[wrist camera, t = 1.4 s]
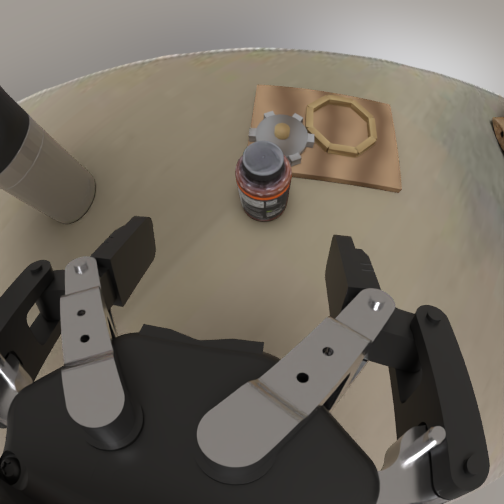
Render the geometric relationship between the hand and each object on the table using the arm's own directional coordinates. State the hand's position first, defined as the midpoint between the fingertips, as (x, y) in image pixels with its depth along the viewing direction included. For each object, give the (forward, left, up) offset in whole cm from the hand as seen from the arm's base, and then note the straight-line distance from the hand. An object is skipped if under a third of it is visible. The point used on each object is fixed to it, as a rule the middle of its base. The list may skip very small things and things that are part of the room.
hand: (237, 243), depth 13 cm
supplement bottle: (0, +12, -23) cm, 26 cm away
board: (+8, +24, -23) cm, 34 cm away
